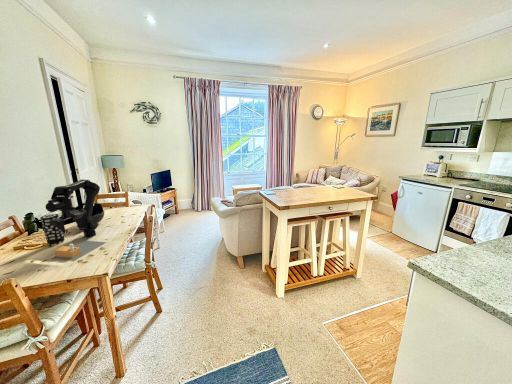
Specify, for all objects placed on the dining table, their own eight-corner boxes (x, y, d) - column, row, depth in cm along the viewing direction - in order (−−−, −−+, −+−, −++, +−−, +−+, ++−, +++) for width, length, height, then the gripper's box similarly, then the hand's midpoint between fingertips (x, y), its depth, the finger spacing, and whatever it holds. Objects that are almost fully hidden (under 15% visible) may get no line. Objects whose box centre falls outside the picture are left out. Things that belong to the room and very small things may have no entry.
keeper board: (50, 261, 120) (46, 246, 118) (86, 242, 141) (83, 230, 139) (74, 263, 118) (71, 249, 115) (107, 244, 139) (104, 231, 136)
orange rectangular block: (55, 256, 122) (53, 250, 121) (64, 251, 127) (62, 246, 126) (73, 258, 120) (71, 251, 119) (81, 253, 125) (79, 247, 124)
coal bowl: (69, 227, 164) (63, 205, 159) (96, 218, 182) (92, 198, 177) (85, 232, 157) (80, 208, 152) (111, 222, 175) (107, 200, 170)
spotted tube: (68, 242, 141) (61, 214, 136) (53, 248, 134) (45, 219, 129) (60, 240, 144) (53, 213, 139) (45, 246, 136) (37, 217, 131)
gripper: (61, 212, 118) (68, 237, 122) (91, 202, 136) (96, 224, 140) (45, 211, 120) (52, 236, 124) (76, 201, 138) (81, 223, 142)
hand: (72, 229), depth 132 cm, fingers open, 9 cm apart
